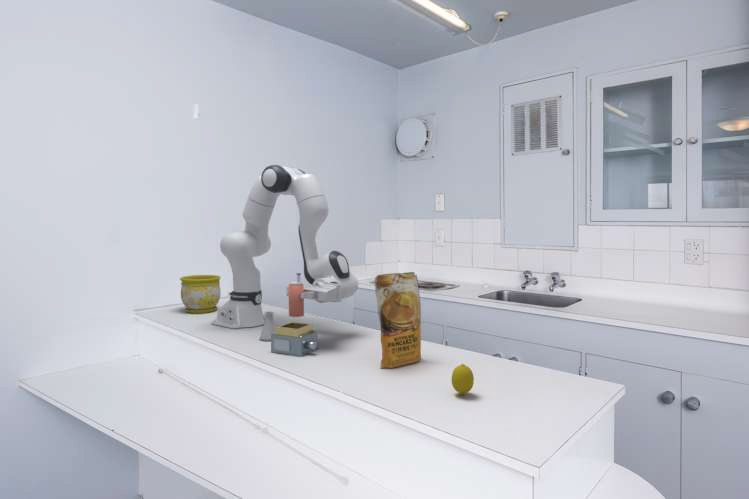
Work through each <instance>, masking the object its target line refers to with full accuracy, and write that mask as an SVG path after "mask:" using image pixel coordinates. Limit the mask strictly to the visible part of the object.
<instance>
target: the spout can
mask: <svg viewBox="0 0 749 499" xmlns="http://www.w3.org/2000/svg"><path fill="white" fill-rule="evenodd" d="M304 284H305V283H303V281H301V272H296V281H290V282H289V284H288V285H289V296H288V316H289V317H291V318H300V317H303V316H305V305H304V304H305V302H304V301H305V299H301V298H299V294H300V293H304Z"/></svg>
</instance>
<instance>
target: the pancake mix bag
mask: <svg viewBox="0 0 749 499" xmlns="http://www.w3.org/2000/svg"><path fill="white" fill-rule="evenodd" d="M417 276H418V275H417V274H415V272H413V271H411V272H402V273H401V272H393V273H384V274H378V275H377V276H375V278H374V287H375V288H374V289H375V297H376V303H377V304H376V305H377V314H378V320H379V325H380V343H381V352H382V353H381V354H382V355H381V356H382V357H381V361H380V367H379V368H380V369H396V368H400V367H406V366H408V365H412V364H417V363H419V362H420V360H421V359H422V353H421V350H422V348H421V347H422V311H421V305H422V304H421V295H420V289H419V282H418V277H417Z"/></svg>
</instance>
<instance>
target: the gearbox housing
mask: <svg viewBox="0 0 749 499" xmlns="http://www.w3.org/2000/svg"><path fill="white" fill-rule="evenodd" d="M275 330H276V332H273V334H271V341H270V353H274V354H281V355H282V354H283V355H288V356H295V357H296V356H297V357H304V356H307V355H308V354H310V353H312V352H314V351H316V350H318V347H319V346H318V345H319V344H318V338H319V337H318V331H316V329H314V324H313V323H305V322H295V321H289V322H286V323H284V324H281V325H277V326H275Z"/></svg>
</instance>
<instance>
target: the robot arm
mask: <svg viewBox="0 0 749 499" xmlns="http://www.w3.org/2000/svg"><path fill="white" fill-rule="evenodd" d="M280 195H284V196H287V195H289V196H294V198H295V201H296V204H297V208H298V213H299V222H298V223H299V224H298V237H299V242H300V243H299V244H300V248H301V254H302V259H303V275H304V278H305V280H306V281H307V282H308V283H309V284H305V283H303V284H304V293H300V294H299V298H301V299H304V300H305V299H308V300H314V301H315V302H317V303H319V304H323V303H331V302H332V303H340V302H341V301H342V300H344V299H348V298H350V297H353V295H355V294H356V292H357V291H358V289H359V281H358V278H357V277H356V276H355V275H354V274H352V272H351V271H350V266H349V262H348V259H347V257H346V256H345V255H344V254H343V253H341V252H340V251H337V250H331V251H330V252H328V253H327V252H326V254H324V255H322V256H320V257H319V254H318V247H317V243H316V236H317V233H318V231H319V230H320V227H321V226H322V225H323V224H324V222H325V221H326V220H327V217H328V215H329V206H328V201H327V198H326V196H325V192H324V189H323V188H322V186H321V183H320V182H319V180H318V178H317V177H316V175H314V174H313V173H306V172H305V171H304V170H301V169H300V168H295V167H291V166H285V165H280V164H279V165H278V164H271V165H269V166H267V167H265V168H264V169H263V170H262V172H261V175H259V176H258V177H257V178H256V180H255V181H254V183H253V185H252V187H251V189H250V191H249V193H248V197H247V200H246V203H245V205H244V209H243V210H242V217H243V219H244V221H245V227H244V230H243V231H233V232H230V233H227V234H225V235H224V236H222V238H221V240H220V242H219V248H220V252H221V253H222V255H223V256H224V257H226V259H227V261H228V263H229V264H230V268H231V272H232V273H231V274H232V285H233V286H232V287H233V288H232V289H233V290H232V291H231V292H227V294H228V295H227V296H229V297H230V298H229V299H228V301H226V303H224V304H223V305H222V306H220V307H219V308H218V309H217V315H216V318H215V319H214V320H211V322H210V324H211V325H213V326H214V325H215V326H218V327H219V326H220V327H225V328H228V329H239V328H240V329H243V328H253V327H260V326H262V325H263V326H264V324H265V318H264V314H263V308H262V307H263V306H262V298H263V296H262V295H263V293H262V289H261V288H262V287H261V283H262V282H261V271H260V270H259V268H257V267H256V265H255V262H254V258H255V257H256V258H257V257H260V256H263V255H265V254H267V253H268V252H269V251H270V250H271V245H272V241H271V238H270V237H269V227H270V226H269V225H270V221H271V218H272V215H273V211H274V209H275V206H276V203H277V200H278V198H279V196H280ZM285 292H286V297H289V284H288V285H286V291H285Z"/></svg>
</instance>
